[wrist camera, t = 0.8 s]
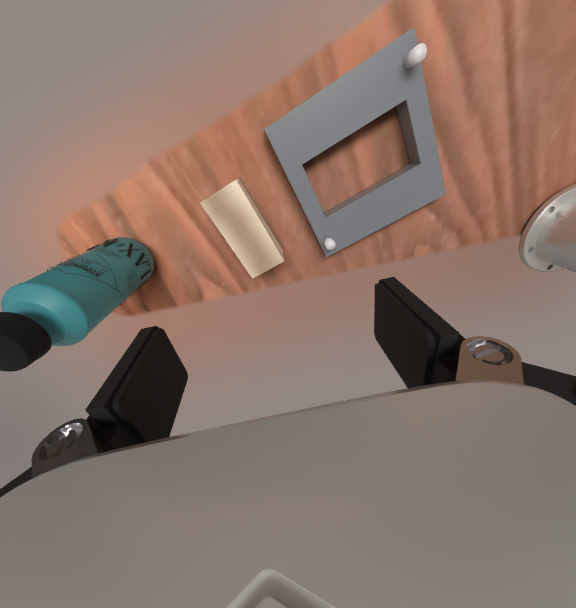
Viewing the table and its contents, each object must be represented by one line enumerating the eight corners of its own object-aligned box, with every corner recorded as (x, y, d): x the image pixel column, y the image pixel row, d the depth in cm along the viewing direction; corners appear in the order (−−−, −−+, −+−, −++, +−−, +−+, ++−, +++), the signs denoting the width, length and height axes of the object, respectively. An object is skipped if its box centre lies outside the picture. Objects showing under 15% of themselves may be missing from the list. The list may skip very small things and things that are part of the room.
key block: (242, 176, 30) (236, 179, 25) (282, 246, 35) (284, 261, 29) (212, 196, 31) (200, 203, 26) (255, 261, 35) (252, 278, 30)
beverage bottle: (164, 278, 36) (65, 388, 18) (116, 276, 35) (-33, 387, 18) (155, 233, 32) (26, 315, 15) (102, 230, 32) (-96, 311, 15)
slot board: (401, 38, 24) (426, 15, 21) (433, 191, 32) (456, 196, 28) (264, 131, 28) (263, 126, 24) (323, 251, 35) (329, 262, 31)
